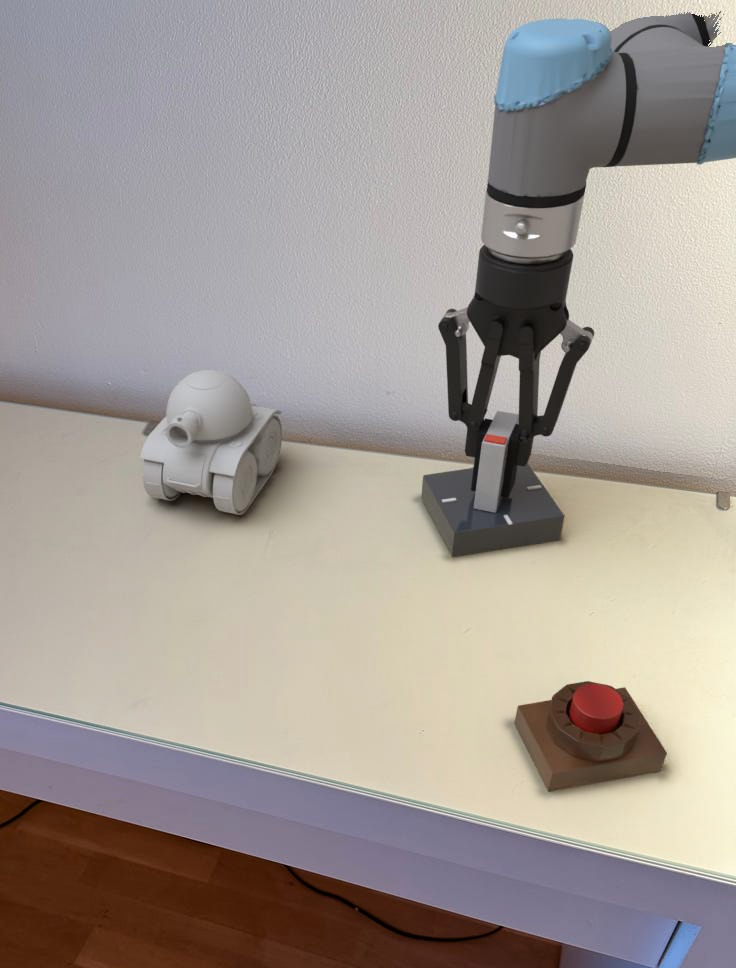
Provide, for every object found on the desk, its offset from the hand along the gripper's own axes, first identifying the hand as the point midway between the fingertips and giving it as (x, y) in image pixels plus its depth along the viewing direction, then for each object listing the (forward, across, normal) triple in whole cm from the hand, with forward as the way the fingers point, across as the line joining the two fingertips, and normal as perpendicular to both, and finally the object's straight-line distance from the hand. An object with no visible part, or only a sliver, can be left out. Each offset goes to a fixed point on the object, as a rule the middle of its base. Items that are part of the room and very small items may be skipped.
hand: (492, 486), depth 94 cm
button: (0, +14, -26) cm, 30 cm away
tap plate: (+4, 0, 0) cm, 4 cm away
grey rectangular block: (+1, 0, 0) cm, 1 cm away
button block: (+4, +14, -26) cm, 30 cm away
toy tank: (+4, -29, -4) cm, 29 cm away
